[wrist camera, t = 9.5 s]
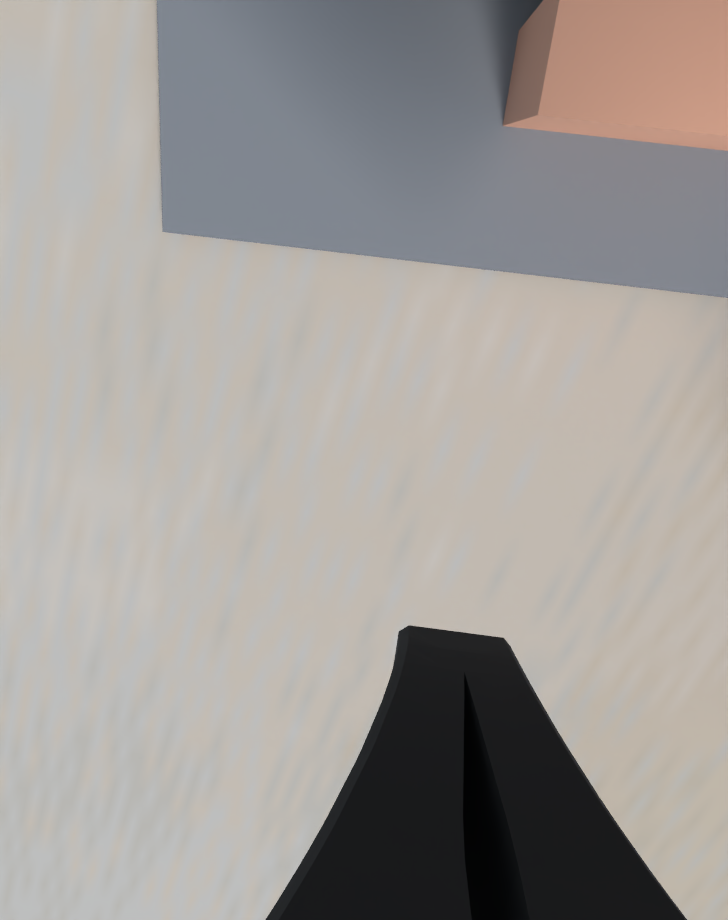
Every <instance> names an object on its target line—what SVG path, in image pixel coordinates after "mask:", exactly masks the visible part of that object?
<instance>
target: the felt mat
mask: <svg viewBox="0 0 728 920" xmlns="http://www.w3.org/2000/svg"><path fill="white" fill-rule="evenodd" d="M542 1H543V0H157V23H158V64H159V104H160V145H161V185H162V226H163V232H169V233H177V234H186V235H194V236H203V237H211V238H220V239H229V240H237V241H246V242H254V243H263V244H271V245H280V246H289V247H297V248H306V249H314V250H323V251H331V252H340V253H349V254H357V255H366V256H374V257H383V258H391V259H400V260H409V261H417V262H426V263H434V264H443V265H451V266H460V267H468V268H477V269H486V270H494V271H503V272H511V273H520V274H528V275H537V276H546V277H554V278H563V279H571V280H580V281H588V282H597V283H606V284H614V285H623V286H631V287H640V288H648V289H657V290H666V291H674V292H683V293H691V294H700V295H708V296H717V297H725V298H728V151H724V150H715V149H706V148H697V147H688V146H679V145H670V144H661V143H652V142H643V141H634V140H625V139H616V138H606V137H597V136H588V135H579V134H570V133H561V132H552V131H543V130H534V129H525V128H516V127H507V126H503V121H504V115H505V109H506V103H507V97H508V91H509V86H510V80H511V74H512V68H513V62H514V56H515V50H516V44H517V38H518V32H519V30H520V28H521V27H522V26H523V25H524V24H525V22H526V21H527V20H528V19H529V17H530V16H531V15H532V14H533V12H534V11H535V10H536V9H537V7H538V6H539V5H540V4H541V2H542Z"/></svg>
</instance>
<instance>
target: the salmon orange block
mask: <svg viewBox="0 0 728 920" xmlns="http://www.w3.org/2000/svg"><path fill="white" fill-rule="evenodd" d="M503 126H507V127H516V128H525V129H534V130H543V131H552V132H561V133H570V134H579V135H588V136H597V137H606V138H616V139H625V140H634V141H643V142H652V143H661V144H670V145H679V146H688V147H697V148H706V149H715V150H724V151H728V0H543V1H542V2H541V4H540V5H539V6H538V7H537V9H536V10H535V11H534V12H533V14H532V15H531V16H530V17H529V19H528V20H527V21H526V22H525V24H524V25H523V26H522V27H521V28H520V30H519V32H518V38H517V44H516V50H515V56H514V62H513V68H512V74H511V80H510V86H509V91H508V97H507V103H506V109H505V115H504V121H503Z"/></svg>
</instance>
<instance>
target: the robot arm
mask: <svg viewBox="0 0 728 920" xmlns="http://www.w3.org/2000/svg"><path fill="white" fill-rule="evenodd" d="M266 920H687V919H686V918H685V917H684V915H683V914H682V913H681V911H680V910H679V909H678V907H677V906H676V905H675V903H674V902H673V901H672V899H671V898H670V897H669V895H668V894H667V893H666V891H665V890H664V889H663V887H662V886H661V885H660V883H659V882H658V881H657V879H656V878H655V877H654V875H653V874H652V872H651V871H650V870H649V868H648V867H647V865H646V864H645V863H644V861H643V860H642V858H641V857H640V856H639V854H638V853H637V851H636V850H635V848H634V847H633V846H632V844H631V843H630V841H629V840H628V839H627V837H626V836H625V834H624V833H623V831H622V830H621V829H620V827H619V826H618V824H617V823H616V821H615V820H614V818H613V817H612V815H611V814H610V812H609V811H608V809H607V808H606V806H605V805H604V803H603V802H602V801H601V799H600V798H599V796H598V794H597V793H596V791H595V790H594V788H593V787H592V785H591V783H590V782H589V780H588V779H587V777H586V776H585V774H584V772H583V771H582V769H581V768H580V766H579V765H578V763H577V762H576V760H575V758H574V757H573V755H572V754H571V752H570V751H569V749H568V747H567V746H566V744H565V742H564V741H563V739H562V737H561V736H560V734H559V733H558V731H557V729H556V728H555V726H554V724H553V722H552V721H551V719H550V717H549V716H548V714H547V712H546V710H545V709H544V707H543V705H542V704H541V702H540V700H539V698H538V697H537V695H536V693H535V691H534V689H533V688H532V686H531V684H530V682H529V680H528V679H527V677H526V675H525V673H524V671H523V669H522V668H521V666H520V664H519V662H518V660H517V658H516V656H515V654H514V653H513V651H512V649H511V647H510V645H509V644H508V643H507V642H506V640H505V639H504V638H500V637H492V636H485V635H477V634H470V633H462V632H454V631H447V630H439V629H432V628H424V627H416V626H407V627H406V628H404V629H402V630H401V631H399V634H398V641H397V647H396V654H395V660H394V666H393V670H392V673H391V677H390V680H389V683H388V686H387V688H386V691H385V694H384V697H383V700H382V703H381V705H380V707H379V710H378V712H377V715H376V717H375V719H374V722H373V724H372V726H371V729H370V731H369V733H368V736H367V738H366V740H365V743H364V745H363V747H362V750H361V752H360V754H359V756H358V758H357V760H356V762H355V764H354V766H353V768H352V770H351V772H350V774H349V776H348V778H347V780H346V782H345V784H344V786H343V788H342V789H341V791H340V793H339V795H338V797H337V799H336V801H335V803H334V805H333V807H332V809H331V811H330V813H329V815H328V817H327V818H326V820H325V822H324V824H323V826H322V827H321V829H320V831H319V833H318V834H317V836H316V838H315V840H314V842H313V843H312V845H311V847H310V849H309V850H308V852H307V854H306V855H305V857H304V859H303V860H302V862H301V864H300V865H299V867H298V869H297V870H296V872H295V874H294V875H293V877H292V879H291V880H290V882H289V883H288V885H287V887H286V888H285V890H284V892H283V893H282V895H281V896H280V898H279V900H278V901H277V903H276V904H275V906H274V908H273V909H272V911H271V912H270V914H269V915H268V917H267V918H266Z"/></svg>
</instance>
